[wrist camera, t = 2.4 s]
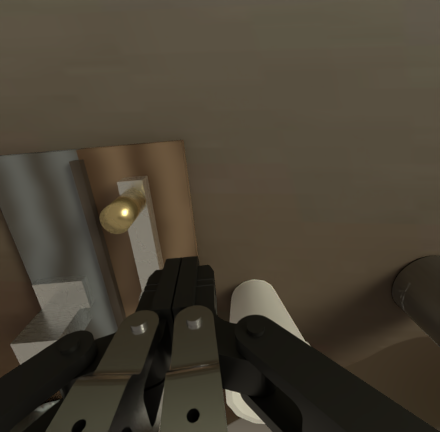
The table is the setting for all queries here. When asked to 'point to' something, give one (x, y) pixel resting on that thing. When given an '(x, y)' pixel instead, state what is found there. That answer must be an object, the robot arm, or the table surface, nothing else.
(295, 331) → the foam cup
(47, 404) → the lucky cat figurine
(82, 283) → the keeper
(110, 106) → the table surface
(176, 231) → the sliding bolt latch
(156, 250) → the swing bar
